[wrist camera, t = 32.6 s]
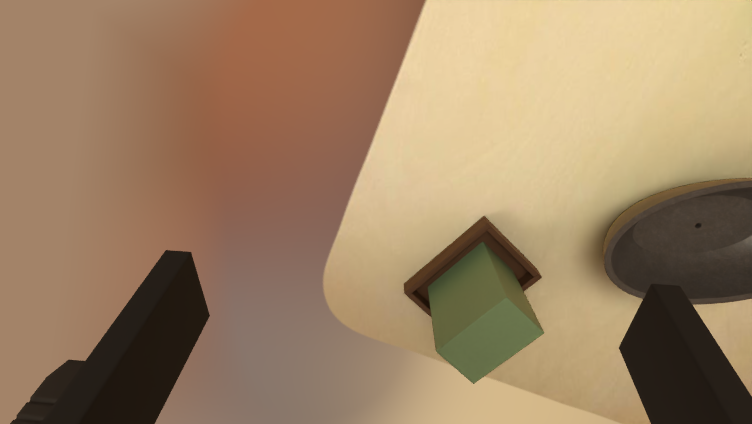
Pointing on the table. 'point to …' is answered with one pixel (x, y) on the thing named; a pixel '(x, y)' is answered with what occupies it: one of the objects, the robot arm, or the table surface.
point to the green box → (480, 314)
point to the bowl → (686, 242)
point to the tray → (461, 247)
